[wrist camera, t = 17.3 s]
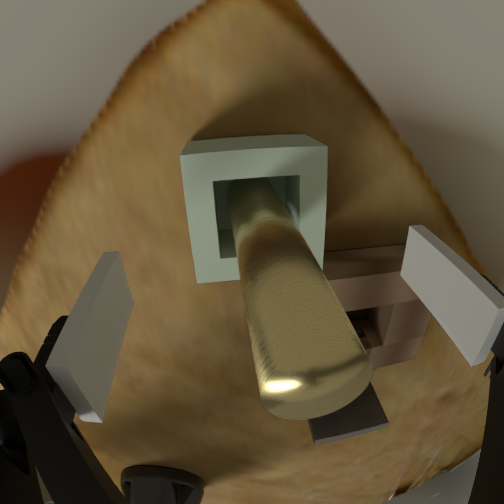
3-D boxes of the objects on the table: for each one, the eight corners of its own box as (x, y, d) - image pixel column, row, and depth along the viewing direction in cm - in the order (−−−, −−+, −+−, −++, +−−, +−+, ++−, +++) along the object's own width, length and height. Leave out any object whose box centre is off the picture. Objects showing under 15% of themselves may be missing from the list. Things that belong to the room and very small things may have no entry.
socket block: (273, 354, 31) (280, 385, 27) (272, 257, 26) (281, 285, 22) (399, 333, 32) (415, 358, 28) (422, 242, 27) (446, 264, 23)
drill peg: (229, 217, 23) (261, 426, 9) (225, 173, 21) (258, 359, 7) (274, 213, 23) (360, 407, 9) (273, 170, 21) (384, 338, 7)
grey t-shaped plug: (300, 391, 34) (314, 444, 28) (306, 325, 29) (327, 385, 23) (365, 379, 34) (386, 427, 28) (383, 313, 30) (415, 364, 23)
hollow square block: (199, 246, 24) (197, 283, 20) (187, 141, 21) (179, 155, 16) (303, 237, 25) (322, 271, 21) (304, 133, 21) (327, 146, 17)
